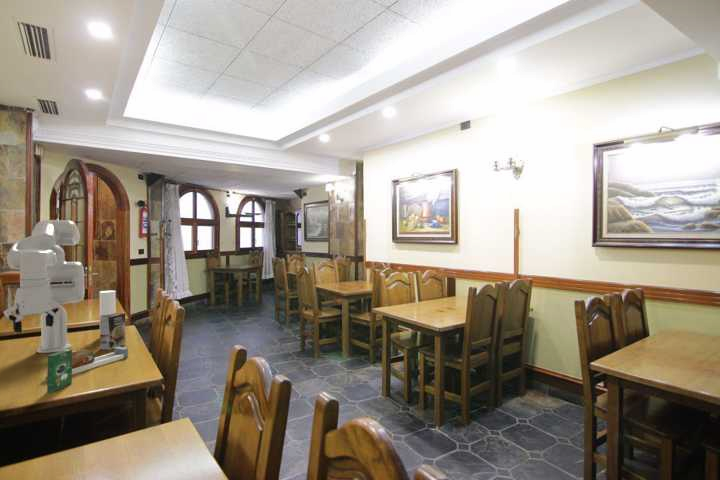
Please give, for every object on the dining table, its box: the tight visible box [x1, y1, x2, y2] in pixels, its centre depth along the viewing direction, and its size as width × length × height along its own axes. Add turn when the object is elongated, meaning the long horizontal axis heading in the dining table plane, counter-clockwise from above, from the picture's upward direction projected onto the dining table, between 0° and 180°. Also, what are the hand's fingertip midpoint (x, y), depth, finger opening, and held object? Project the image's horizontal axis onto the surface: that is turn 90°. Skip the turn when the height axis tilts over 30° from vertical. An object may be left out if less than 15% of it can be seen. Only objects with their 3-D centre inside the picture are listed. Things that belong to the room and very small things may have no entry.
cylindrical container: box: [99, 290, 117, 318], centre depth 198 cm, size 7×7×25 cm
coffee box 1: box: [46, 348, 73, 393], centre depth 133 cm, size 8×3×13 cm, turn 178°
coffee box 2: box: [99, 312, 126, 351], centre depth 181 cm, size 9×6×16 cm
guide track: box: [72, 346, 129, 375], centre depth 155 cm, size 7×28×4 cm, turn 157°
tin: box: [72, 348, 96, 369], centre depth 149 cm, size 15×3×8 cm, turn 148°
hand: (34, 329), depth 137 cm, fingers open, 9 cm apart
